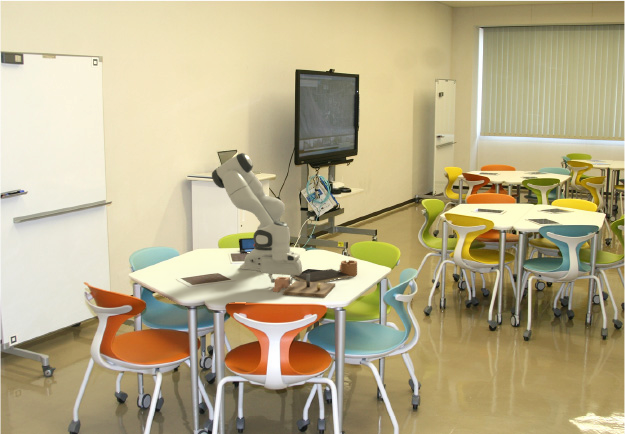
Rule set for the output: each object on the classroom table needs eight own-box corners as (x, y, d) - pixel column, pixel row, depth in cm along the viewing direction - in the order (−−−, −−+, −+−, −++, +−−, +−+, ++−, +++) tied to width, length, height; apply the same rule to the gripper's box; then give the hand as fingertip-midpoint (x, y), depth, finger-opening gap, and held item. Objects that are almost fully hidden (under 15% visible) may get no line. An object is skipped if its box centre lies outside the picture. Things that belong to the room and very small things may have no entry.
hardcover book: (348, 279, 359) (348, 274, 358) (310, 286, 346) (310, 281, 346) (330, 272, 372) (330, 268, 371) (293, 279, 360) (293, 275, 359)
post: (305, 287, 336) (305, 274, 335) (306, 286, 338) (306, 273, 337) (309, 287, 336) (309, 275, 335) (310, 286, 338) (310, 274, 337)
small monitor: (241, 254, 419) (240, 241, 418) (238, 250, 429) (238, 238, 428) (262, 252, 422) (261, 240, 421) (259, 249, 432) (258, 237, 431)
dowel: (316, 290, 330) (316, 284, 330) (317, 289, 332) (317, 283, 331) (319, 290, 330) (319, 284, 329) (320, 289, 331) (320, 283, 331)
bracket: (357, 276, 361) (357, 263, 360) (341, 277, 361) (341, 264, 360) (354, 268, 379) (354, 255, 378) (339, 268, 379) (339, 256, 378)
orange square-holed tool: (269, 291, 335) (269, 283, 335) (278, 284, 348) (278, 276, 347) (281, 292, 334) (281, 284, 333) (290, 285, 346) (290, 277, 345)
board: (283, 294, 329) (283, 291, 329) (295, 284, 348) (295, 281, 348) (324, 297, 324) (324, 294, 324) (335, 286, 343) (335, 283, 343)
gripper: (258, 255, 341) (259, 283, 343) (298, 257, 336) (299, 286, 338) (263, 252, 347) (263, 280, 349) (302, 254, 341) (303, 282, 344)
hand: (281, 283), depth 344 cm, fingers open, 8 cm apart
